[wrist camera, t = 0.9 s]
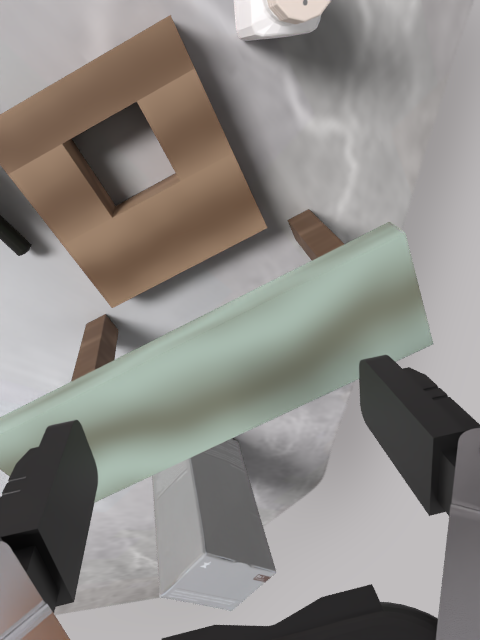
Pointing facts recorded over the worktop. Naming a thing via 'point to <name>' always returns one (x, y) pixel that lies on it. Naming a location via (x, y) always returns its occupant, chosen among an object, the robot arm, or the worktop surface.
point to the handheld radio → (13, 238)
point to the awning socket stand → (179, 255)
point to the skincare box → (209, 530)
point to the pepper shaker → (277, 17)
